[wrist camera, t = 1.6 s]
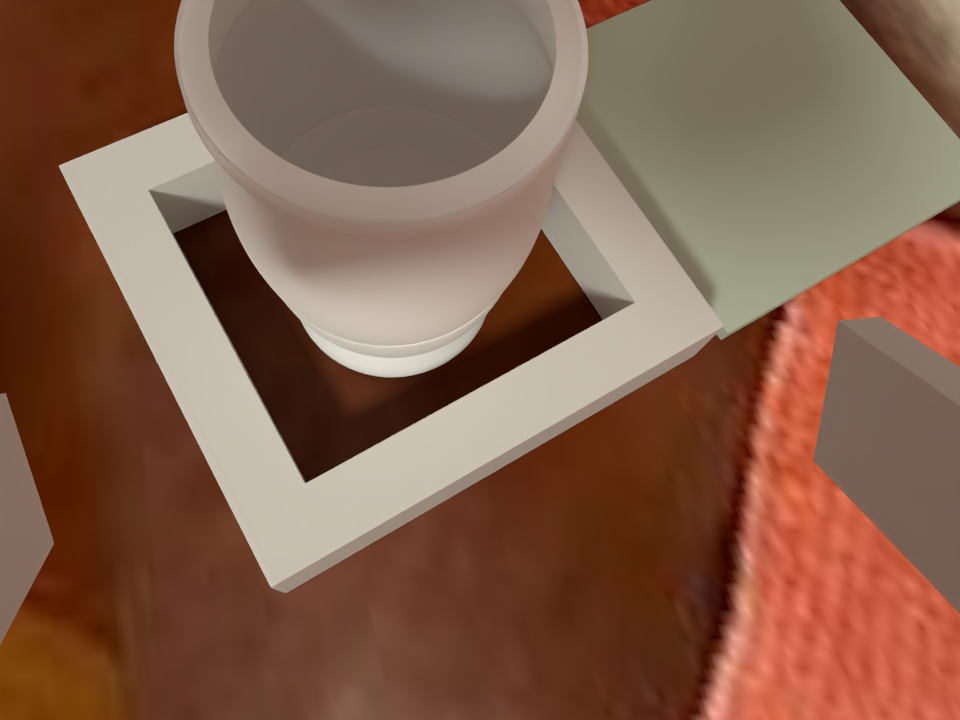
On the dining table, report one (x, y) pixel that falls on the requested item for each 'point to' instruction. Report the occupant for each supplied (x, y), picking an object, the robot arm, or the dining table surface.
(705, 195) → the pad
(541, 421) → the white square frame
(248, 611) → the dining table surface
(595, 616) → the dining table surface
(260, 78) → the jar
